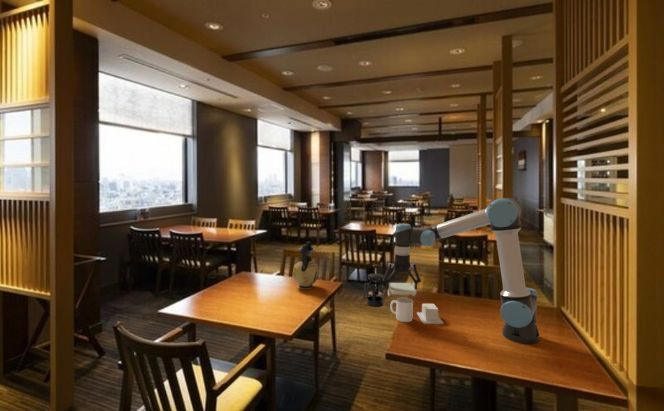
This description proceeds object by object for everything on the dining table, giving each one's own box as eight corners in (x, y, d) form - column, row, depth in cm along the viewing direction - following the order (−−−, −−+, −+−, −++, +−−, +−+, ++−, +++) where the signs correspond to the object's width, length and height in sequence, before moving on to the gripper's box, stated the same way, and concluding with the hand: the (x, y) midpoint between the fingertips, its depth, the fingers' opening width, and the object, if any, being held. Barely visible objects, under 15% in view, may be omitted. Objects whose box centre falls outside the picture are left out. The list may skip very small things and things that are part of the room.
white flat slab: (416, 294, 176) (416, 291, 176) (392, 294, 176) (392, 291, 176) (409, 285, 190) (409, 283, 190) (387, 285, 190) (387, 282, 190)
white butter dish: (443, 324, 177) (444, 311, 177) (423, 324, 177) (424, 311, 177) (435, 313, 191) (435, 301, 191) (416, 313, 191) (416, 301, 190)
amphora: (318, 291, 226) (318, 245, 224) (291, 291, 226) (291, 244, 224) (319, 283, 244) (319, 240, 241) (294, 283, 244) (294, 240, 242)
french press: (385, 302, 207) (386, 263, 206) (383, 308, 198) (383, 267, 197) (365, 300, 211) (366, 262, 209) (362, 305, 202) (363, 265, 200)
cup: (409, 323, 177) (409, 304, 176) (386, 318, 184) (387, 299, 183) (414, 318, 184) (415, 299, 183) (393, 313, 191) (393, 295, 190)
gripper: (424, 252, 185) (422, 293, 187) (377, 252, 185) (376, 292, 187) (428, 255, 178) (426, 298, 179) (379, 255, 177) (378, 297, 179)
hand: (401, 295), depth 183 cm, fingers closed on white flat slab, 12 cm apart
